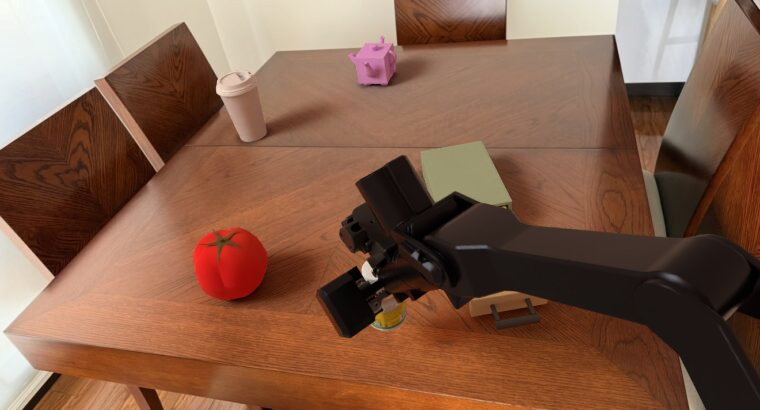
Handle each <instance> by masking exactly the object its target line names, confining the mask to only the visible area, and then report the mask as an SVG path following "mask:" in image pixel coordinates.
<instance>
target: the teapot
mask: <svg viewBox="0 0 760 410" xmlns="http://www.w3.org/2000/svg"><path fill="white" fill-rule="evenodd" d="M347 57H348V59H350V60H351V62H353V63H354V65H355V69H356V75H357V81H358V84H363V86H370V85H372V84H373V85H374V84H375V85H377V84H379V85H380V86H382V87H383V86H384V87H385V86H388V85H389V82H390V80H391V78H392V77H393V75H394V73H395V72H396V71H397V64H396V62H397V59H398V56H397V53H396V52H395V46H394V42H385V35H381V37H379V42H369V43H368V42H367V43H364V44H363V46H362V47H361V48H360V49H359V51H358V53H357V54H355V53H354V52H352V53H349V54H348V56H347Z"/></svg>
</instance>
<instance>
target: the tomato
mask: <svg viewBox="0 0 760 410" xmlns="http://www.w3.org/2000/svg"><path fill="white" fill-rule="evenodd" d="M192 258H193V264H194V274H195V276H196V279H197V282H198V284H199V286H200V288H201V289H202V291H203V292H204V293H205V295H206V296H209V297H211V298H214V299H218V300H222V301H231V300H236V299H241V298H246V297H247V296H249V295H251V294H252V293H253V292H254V291H256V289H257V288H258V287H259V286H260V285H261V283H262V281H263V279H264V277H265V275H266V273H267V268H268V260H269V259H268V251H267V250H266V248H265V246H264V245H263V242H261V240H260V239H259V238H258V236H256V235H255V234H254V233H252V232H251V231H249V230H248V229H246V228H243V227H241V226H237V227H236V226H235V227H231V228H229V229H218V230H214V229H212V231H210V232H209V233H208V234H206V235H204V236H203V237H201V238H199V240H198V242H197V244H196V245H195V246H194V249H193V254H192Z"/></svg>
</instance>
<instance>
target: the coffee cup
mask: <svg viewBox="0 0 760 410" xmlns="http://www.w3.org/2000/svg"><path fill="white" fill-rule="evenodd" d="M258 84H259V81H258V79H257V77H256V76H255V75H254V74H253V73H252V72H251V71H250V70H246V69H240V70H239V69H238V70H233V71H230V72H229V71H228V72H227V73H224V74H223V75H221V76H220V77H218V79H217V81H216V86H215V91H216V92H215V93H216V94H217V95H218V96H220V98H221V100H222V102H223V104H224V107H225V109H226V111H227V113H228V115H229V117H230V119H231V121H232V123H233V125H234V127H235V129H236V131H237V134H238V136H239V138H240V140H241V141H243V142H245V143H252V142H256V141H259V140H261V139H262V138H264V137H265V136H266V135H267V134H268V131H267V127H266V126H267V125H266V121H265V118H264V113H263V112H264V111H263V107H262V104H261V99H260V95H259V89H258Z"/></svg>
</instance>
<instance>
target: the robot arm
mask: <svg viewBox="0 0 760 410" xmlns="http://www.w3.org/2000/svg"><path fill="white" fill-rule="evenodd" d="M354 185H355V187H356V189H357V190H358V192H359V194H360V195H361V196H362V198H363V200H364V202H363V203H361V204H360V205H358V206H356V207H355V208H354V209H353V210H352V212H351V214H350V215H347V216H346V217H345V219H343V220H342V221H340V224H341V227H340V228H339V231H338V233H339V234H338V237H339V238H340V241H342V243H343V244H344V245H345V247H346V248H347V250H348V251H349V252H350V253H351V254H353V255H354V254H357V253H358V252H361V253H362V254H363V255H366V254H368V255H369V256H368V257H367V258H366V259H365V260H366V261H367V262H368V263H369V265H370V266H371V268H372V270H371V273H372V275H373V276H374V277H375V278H378V279H377V280H375V281H374V282H372V283H370V282H369V280H367V281H366V280H365V279H364V277H363V275H362V271H361V270H360V268H359V267H358V265H355V266H353V267H352V268H350V269H349V270H347V271H345V272H343V273H341V274H340V275H338V276H337V277H334V278H333V279H332V280H330V281H328V282H327V283H325V284H324V285H322V286H320V287H319V288H318V289H316V294H315V298H316V300H317V301H318V303H319V305H320V306H321V308H322V310H323V311H324V313H325V315H326V317H327V319H328V320H329V322H330V323H331V325H332V327H333V328H334V330H335V331H336V334H337V335H338V336H339V338H345V339H352V338H354V336H355V337H356V335H358V334H359V333H361V332H362V331H363V330H365V329H367V328H368V327H370V326H371V324H372V323H373V322H375V321H376V319H375V316H376V315H378V314H379V313H381V312H382V311H383V308H382V301H383V300H384V299H386V298H387V297H389V296H390V295H393V296H394V298H395V300H396V301H397V303H402V302H403V301H405V302H406V300H408V299H409V300H410V301H411V302H416V301H418V300H419V299H420V298H422V297H423V296H424V295H426V294H427V293H429V292H432V291H433V292H434V291H438V290H441V291H443V292H444V294H445V295H446V297H447V298H448V300H449V302H450V303H451V305H452V307H453V308H454V309H455V310H460V309H462V308H463V307H464V306H466V305H467V304H469V301H471V300H472V299H473V298H482V297H485V296H489V295H493V294H496V293H500V292H504V291H513V292H519V293H523V294H527V295H531V296H534V297H538V298H542V299H546V300H547V301H550V302H554V303H558V304H562V305H566V306H569V307H572V308H578V309H581V310H585V311H589V312H593V313H596V314H601V315H604V316H607V317H610V318H616V319H619V320H623V321H627V322H631V323H635V324H638V325H641V326H646V327H647V328H648V329H649V330H650V331H651V332H652V333H653V334H654V335H655V336H657V337H658V338H659V339H660V340H661V341H662V342H664V344H665V345H667V346H668V347H669V348H670V350H672V351H673V352H675V353H676V354H677V356H678V357H679V358H680V361H681V362H682V364H683V366H684V368H685V371H686V373H687V375H688V376H689V378H690V381H691V383H692V385H693V386H694V389H695V390H696V393H697V394H698V396H699V397H698V398H699V399H700V401H701V402H702V405H703V407H704V409H705V410H760V375H759V373H758V371H757V369H756V368H755V366H754V364H753V363H752V361H751V359H750V358H749V355H748V353H746V351H745V349H744V347H743V345H742V344H741V342H740V340H739V339H738V337H737V335H736V333H735V331H734V330H733V329H732V327H731V325H730V324H729V322H727V320H729V318H730V317H731V316H732V315H733V314H734V313H737V314H740V315H742V316H745V317H748V318H750V319H754V320H757V321H759V322H760V259H759V258H757V256H755V255H753V253H751V252H749V251H748V250H747V249H745V248H744V247H743V246H742V245H740V244H738V243H737V242H735V241H732V240H731V239H729V238H727V237H726V236H721V235H718V234H713V233H706V234H705V233H704V234H697V235H693V236H689V237H688V236H687V237H681V238H680V237H668V236H658V235H645V234H634V233H623V232H611V231H601V230H589V229H588V230H587V229H577V228H567V227H554V226H543V225H533V224H529V223H525V222H523V221H522V220H521V219H520V218H519V216H518V215H517V213H516V212H515V211H514V210H513V209H512V210H510V209H506V208H502V207H498V206H494V205H491V204H487V203H481V202H479V201H477V200H474V199H472V198H470V197H468V196H466V195H463V194H461V193H459V192H457V191H454V192H452V193H451V194H449V195H447V196H446V197H444V198H443V199H441V200H439V201H437V202H435V201H434V200H433V198H432V196H431V195H430V193H429V192H428V189H427V186H426V184H425V182H423V180H422V178H421V177H420V174H419V173H418V172H417V170H416V169H415V167H414V165H413V164H412V162H411V160H410V159H409V157H408V155H406V154H400V155H399V156H397V157H395V158H393V159H391V160H390V161H388V162H386V163H384V165H382V166H381V167H379V168H378V169H376V170H374V171H372V172H370V173H369V174H366V175H365V176H363V177H361V178H360V179H358V180H357V181H356V182H355V183H354ZM382 288H384V290H381V292H382V293H381V292H378V293H379V294H377V293H376V292H377V291H379V290H380V289H382ZM375 296H376V297H375Z"/></svg>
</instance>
